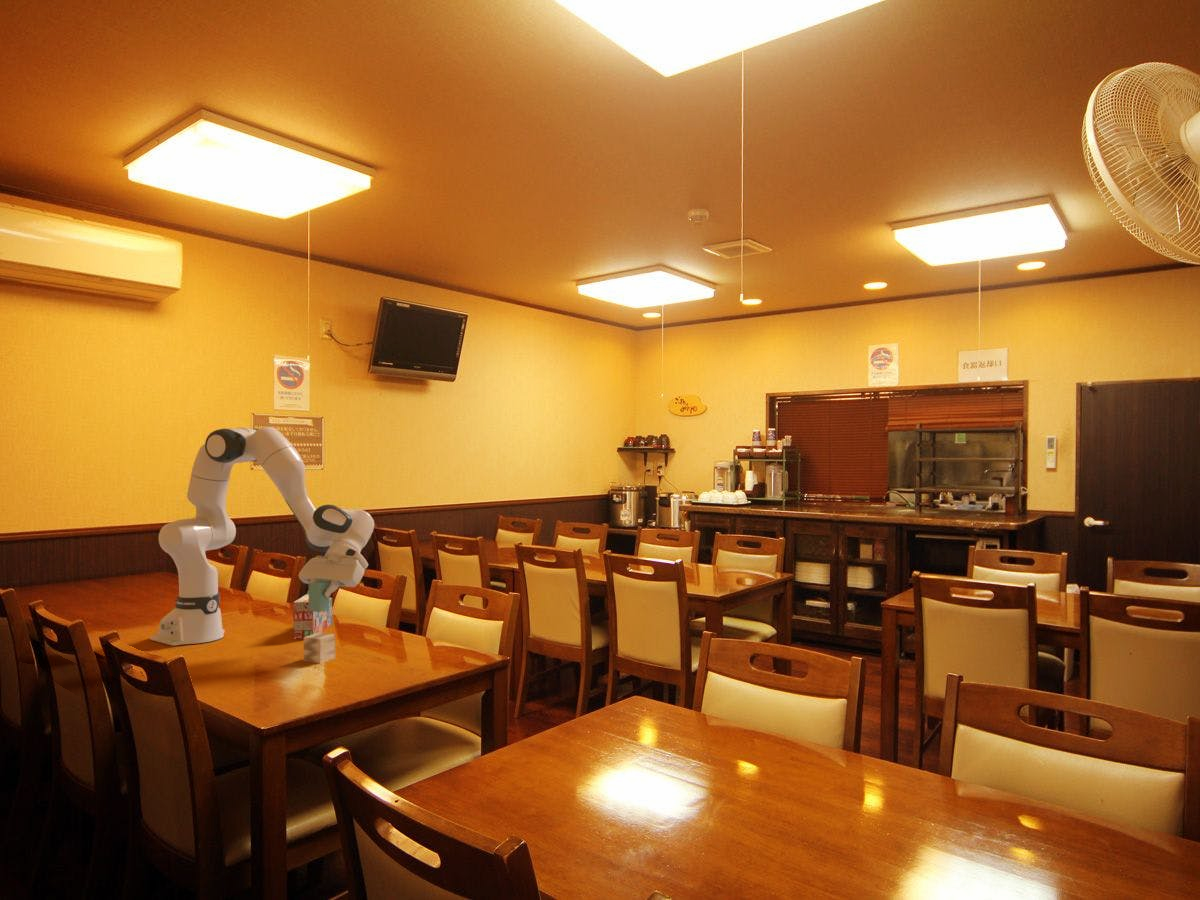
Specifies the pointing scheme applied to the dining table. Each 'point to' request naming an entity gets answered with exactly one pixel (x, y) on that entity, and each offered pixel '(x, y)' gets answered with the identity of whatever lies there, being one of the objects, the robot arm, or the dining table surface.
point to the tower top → (319, 642)
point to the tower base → (319, 655)
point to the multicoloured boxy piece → (309, 618)
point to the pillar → (318, 597)
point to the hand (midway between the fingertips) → (317, 595)
